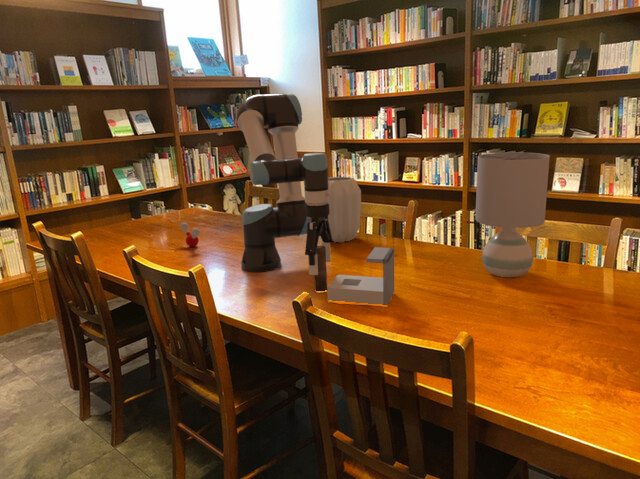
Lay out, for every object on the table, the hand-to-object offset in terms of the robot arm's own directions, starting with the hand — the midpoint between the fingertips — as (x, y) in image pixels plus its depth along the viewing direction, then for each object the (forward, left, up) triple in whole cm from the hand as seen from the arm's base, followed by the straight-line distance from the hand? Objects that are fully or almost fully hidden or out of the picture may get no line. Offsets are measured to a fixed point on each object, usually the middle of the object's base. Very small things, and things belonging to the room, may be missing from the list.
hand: (320, 267), depth 161 cm
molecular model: (-74, +41, -8) cm, 85 cm away
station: (+14, -3, -8) cm, 16 cm away
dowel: (0, 0, -8) cm, 8 cm away
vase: (-11, +63, -8) cm, 65 cm away
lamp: (+58, +28, -8) cm, 65 cm away
